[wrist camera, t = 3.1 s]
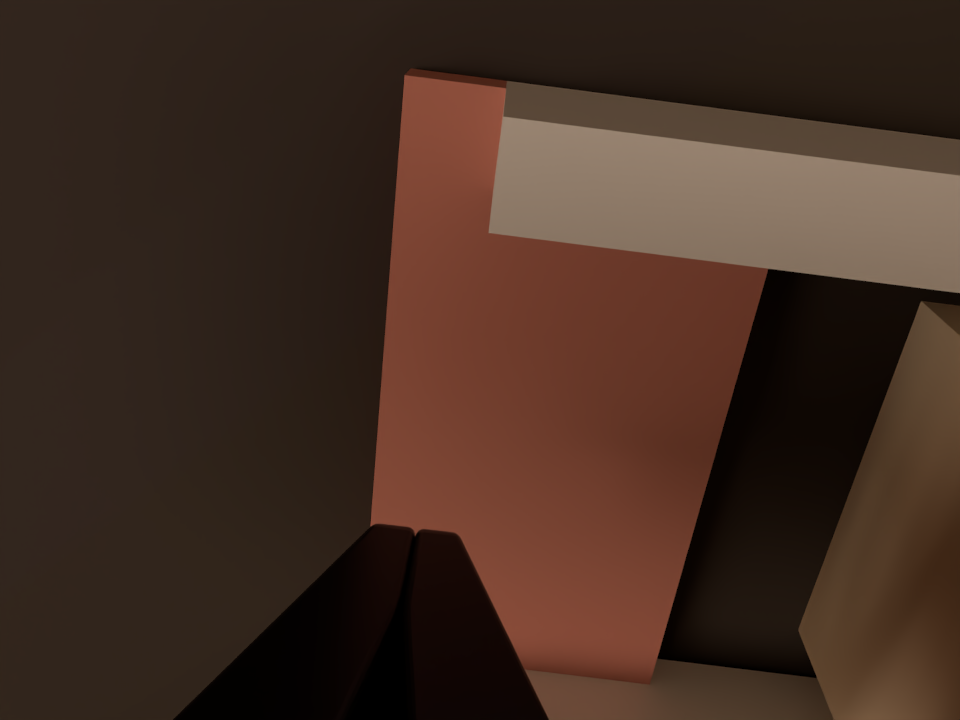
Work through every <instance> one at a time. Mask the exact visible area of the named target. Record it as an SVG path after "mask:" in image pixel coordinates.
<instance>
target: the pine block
mask: <svg viewBox="0 0 960 720" xmlns="http://www.w3.org/2000/svg"><path fill="white" fill-rule="evenodd" d="M798 631H799V634H800V636H801V639H802V641H803V644H804V646H805V649H806V651H807V654H808V656H809V659H810V661H811V664H812V666H813V669H814V671H815V674H816V676H817V679H818V681H819V684H820V686H821V689H822V691H823V694H824V696H825V699H826V701H827V704H828V706H829V709H830V711H831V714H832V716H833V719H834V720H960V306H958V305H950V304H942V303H934V302H926V301H921V303H920V305H919V308H918V311H917V313H916V316H915V319H914V321H913V324H912V327H911V329H910V332H909V335H908V337H907V340H906V343H905V345H904V348H903V351H902V353H901V356H900V359H899V361H898V364H897V367H896V370H895V372H894V375H893V378H892V380H891V383H890V386H889V388H888V391H887V394H886V396H885V399H884V402H883V404H882V407H881V410H880V412H879V415H878V418H877V420H876V423H875V426H874V428H873V431H872V434H871V436H870V439H869V442H868V444H867V447H866V450H865V452H864V455H863V458H862V460H861V463H860V466H859V468H858V471H857V474H856V476H855V479H854V482H853V484H852V487H851V490H850V493H849V495H848V498H847V501H846V503H845V506H844V509H843V511H842V514H841V517H840V519H839V522H838V525H837V527H836V530H835V533H834V535H833V538H832V541H831V543H830V546H829V549H828V551H827V554H826V557H825V559H824V562H823V565H822V567H821V570H820V573H819V575H818V578H817V581H816V583H815V586H814V589H813V591H812V594H811V597H810V599H809V602H808V605H807V607H806V610H805V613H804V616H803V618H802V621H801V624H800V626H799V629H798Z"/></svg>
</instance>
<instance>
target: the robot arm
mask: <svg viewBox="0 0 960 720" xmlns="http://www.w3.org/2000/svg"><path fill="white" fill-rule="evenodd" d="M173 720H549V719H548V717H547V714H546V712H545V710H544V708H543V706H542V704H541V702H540V700H539V698H538V696H537V694H536V692H535V690H534V688H533V686H532V684H531V681H530V679H529V677H528V675H527V673H526V671H525V669H524V667H523V665H522V663H521V661H520V659H519V657H518V655H517V653H516V651H515V649H514V646H513V644H512V642H511V640H510V638H509V636H508V634H507V632H506V630H505V628H504V626H503V624H502V622H501V620H500V618H499V616H498V614H497V611H496V609H495V607H494V605H493V603H492V601H491V599H490V597H489V595H488V593H487V591H486V589H485V587H484V585H483V583H482V581H481V579H480V576H479V574H478V572H477V570H476V568H475V566H474V564H473V562H472V560H471V558H470V556H469V554H468V552H467V550H466V548H465V546H464V544H463V541H462V540H461V538H460V536H459V535H458V534H456V533H454V532H448V531H439V530H431V529H421V530H419V531H418V532H417V533H416V536H415V532H414V530H413V529H412V528H411V527H406V526H397V525H389V524H381V523H380V524H374V525H372V526H371V527H370V528H369V529H368V530H367V531H366V532H365V533H364V534H363V535H362V536H361V537H360V538H359V539H358V540H356V541H355V542H354V543H353V544H352V545H351V546H350V547H349V548H348V549H347V550H346V551H345V552H344V553H343V554H342V555H341V556H340V557H339V558H338V559H337V560H336V561H335V562H334V563H333V564H332V565H331V566H330V567H329V568H328V569H327V570H326V571H325V572H324V573H323V574H322V575H321V576H320V577H319V578H318V579H317V580H316V581H315V582H313V583H312V584H311V585H310V586H309V587H308V588H307V589H306V590H305V591H304V592H303V593H302V594H301V595H300V596H299V597H298V598H297V599H296V600H295V601H294V602H293V603H292V604H291V605H290V606H289V607H288V608H287V609H286V610H285V611H284V612H283V613H282V614H281V615H280V616H279V617H278V618H277V619H276V620H275V621H274V622H273V623H272V624H270V625H269V626H268V627H267V628H266V629H265V630H264V631H263V632H262V633H261V634H260V635H259V636H258V637H257V638H256V639H255V640H254V641H253V642H252V643H251V644H250V645H249V646H248V647H247V648H246V649H245V650H244V651H243V652H242V653H241V654H240V655H239V656H238V657H237V658H236V659H235V660H234V661H233V662H232V663H231V664H230V665H229V666H227V667H226V668H225V669H224V670H223V671H222V672H221V673H220V674H219V675H218V676H217V677H216V678H215V679H214V680H213V681H212V682H211V683H210V684H209V685H208V686H207V687H206V688H205V689H204V690H203V691H202V692H201V693H200V694H199V695H198V696H197V697H196V698H195V699H194V700H193V701H192V702H191V703H190V704H189V705H188V706H186V707H185V708H184V709H183V710H182V711H181V712H180V713H179V714H178V715H177V716H176V717H175V718H174V719H173Z"/></svg>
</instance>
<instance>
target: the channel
mask: <svg viewBox="0 0 960 720" xmlns="http://www.w3.org/2000/svg"><path fill="white" fill-rule="evenodd" d="M768 269H775V270H783V271H791V272H798V273H806V274H814V275H822V276H830V277H838V278H845V279H853V280H861V281H869V282H877V283H885V284H892V285H900V286H908V287H916V288H924V289H932V290H939V291H947V292H955V293H960V140H958V139H950V138H942V137H934V136H927V135H919V134H911V133H904V132H896V131H888V130H881V129H873V128H865V127H858V126H850V125H842V124H835V123H827V122H819V121H812V120H804V119H796V118H788V117H781V116H773V115H765V114H758V113H750V112H742V111H735V110H727V109H719V108H712V107H704V106H696V105H689V104H681V103H673V102H666V101H658V100H650V99H642V98H635V97H627V96H619V95H612V94H604V93H596V92H589V91H581V90H573V89H566V88H558V87H550V86H543V85H535V84H527V83H519V82H512V81H504V80H496V79H489V78H481V77H473V76H466V75H458V74H450V73H443V72H435V71H427V70H420V69H412V68H411V69H410V70H409V71H408V72H407V73H406V74H405V78H404V91H403V104H402V117H401V131H400V144H399V157H398V170H397V183H396V197H395V210H394V223H393V236H392V249H391V262H390V276H389V289H388V302H387V315H386V328H385V342H384V355H383V368H382V381H381V394H380V408H379V421H378V434H377V447H376V460H375V474H374V487H373V500H372V513H371V526H372V525H374V524H380V523H381V524H389V525H397V526H406V527H411V528H412V529H413V530H414V532H415V536H416V533H417V532H418V531H419V530H421V529H431V530H439V531H448V532H454V533H456V534H458V535H459V536H460V538H461V540H462V541H463V544H464V546H465V548H466V550H467V552H468V554H469V556H470V558H471V560H472V562H473V564H474V566H475V568H476V570H477V572H478V574H479V576H480V579H481V581H482V583H483V585H484V587H485V589H486V591H487V593H488V595H489V597H490V599H491V601H492V603H493V605H494V607H495V609H496V611H497V614H498V616H499V618H500V620H501V622H502V624H503V626H504V628H505V630H506V632H507V634H508V636H509V638H510V640H511V642H512V644H513V646H514V649H515V651H516V653H517V655H518V657H519V659H520V661H521V663H522V665H523V667H524V669H525V671H526V673H527V675H528V677H529V679H530V681H531V684H532V686H533V688H534V690H535V692H536V694H537V696H538V698H539V700H540V702H541V704H542V706H543V708H544V710H545V712H546V714H547V717H548V719H549V720H834V719H833V716H832V714H831V711H830V709H829V706H828V704H827V701H826V699H825V696H824V694H823V691H822V689H821V686H820V684H819V681H818V679H817V678H812V677H804V676H796V675H787V674H779V673H771V672H763V671H754V670H746V669H738V668H730V667H721V666H713V665H705V664H697V663H688V662H680V661H672V660H664V659H657V657H658V654H659V650H660V647H661V643H662V640H663V636H664V633H665V629H666V626H667V622H668V619H669V615H670V612H671V608H672V605H673V601H674V598H675V594H676V591H677V587H678V584H679V580H680V577H681V573H682V570H683V566H684V563H685V559H686V556H687V552H688V549H689V545H690V542H691V538H692V535H693V531H694V528H695V524H696V521H697V517H698V514H699V510H700V507H701V503H702V500H703V496H704V493H705V489H706V486H707V482H708V479H709V475H710V472H711V468H712V465H713V461H714V458H715V454H716V450H717V447H718V443H719V440H720V436H721V433H722V429H723V426H724V422H725V419H726V415H727V412H728V408H729V405H730V401H731V398H732V394H733V391H734V387H735V384H736V380H737V377H738V373H739V370H740V366H741V363H742V359H743V356H744V352H745V349H746V345H747V342H748V338H749V335H750V331H751V328H752V324H753V321H754V317H755V314H756V310H757V307H758V303H759V300H760V296H761V293H762V289H763V286H764V282H765V279H766V275H767V272H768ZM371 526H370V527H371Z"/></svg>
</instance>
